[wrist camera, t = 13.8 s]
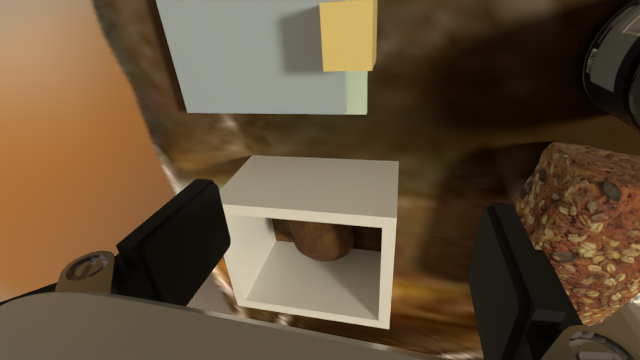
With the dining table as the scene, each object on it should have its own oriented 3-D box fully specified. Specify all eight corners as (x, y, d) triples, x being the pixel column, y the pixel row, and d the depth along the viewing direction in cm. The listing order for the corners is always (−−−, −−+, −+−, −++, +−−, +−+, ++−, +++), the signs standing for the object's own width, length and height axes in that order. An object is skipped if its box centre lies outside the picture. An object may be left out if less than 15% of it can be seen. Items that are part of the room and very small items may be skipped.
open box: (398, 161, 37) (396, 218, 28) (392, 259, 45) (389, 329, 35) (252, 155, 41) (208, 203, 32) (269, 245, 49) (238, 305, 40)
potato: (320, 169, 40) (303, 204, 33) (369, 221, 42) (363, 264, 36) (282, 197, 44) (260, 234, 37) (329, 244, 46) (316, 286, 39)
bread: (543, 133, 32) (591, 184, 24) (660, 154, 31) (755, 216, 22) (474, 263, 42) (492, 330, 34) (561, 283, 41) (601, 359, 32)
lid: (380, -76, 26) (374, -94, 20) (376, 107, 34) (370, 131, 28) (157, -49, 31) (102, -57, 25) (197, 106, 39) (162, 126, 33)
